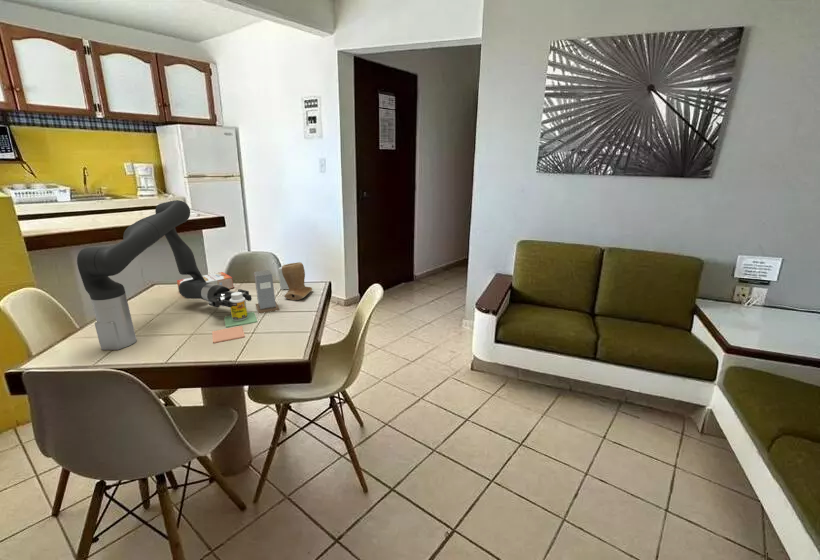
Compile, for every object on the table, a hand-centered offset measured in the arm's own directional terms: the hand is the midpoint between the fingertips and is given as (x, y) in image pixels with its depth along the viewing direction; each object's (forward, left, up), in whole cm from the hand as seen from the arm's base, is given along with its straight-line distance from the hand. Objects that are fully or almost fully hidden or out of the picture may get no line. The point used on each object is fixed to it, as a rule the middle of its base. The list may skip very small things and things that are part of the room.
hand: (240, 301), depth 150 cm
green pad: (+1, +2, -8) cm, 8 cm away
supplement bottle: (+1, +2, -8) cm, 8 cm away
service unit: (+13, -4, -8) cm, 16 cm away
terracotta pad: (-13, 0, -8) cm, 15 cm away
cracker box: (+45, +28, -5) cm, 53 cm away
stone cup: (+29, -11, -8) cm, 32 cm away
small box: (+41, -3, -8) cm, 42 cm away
